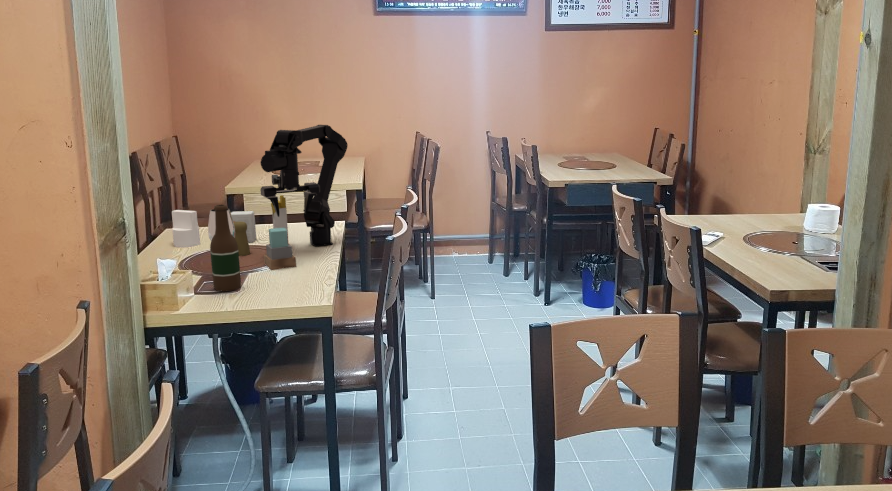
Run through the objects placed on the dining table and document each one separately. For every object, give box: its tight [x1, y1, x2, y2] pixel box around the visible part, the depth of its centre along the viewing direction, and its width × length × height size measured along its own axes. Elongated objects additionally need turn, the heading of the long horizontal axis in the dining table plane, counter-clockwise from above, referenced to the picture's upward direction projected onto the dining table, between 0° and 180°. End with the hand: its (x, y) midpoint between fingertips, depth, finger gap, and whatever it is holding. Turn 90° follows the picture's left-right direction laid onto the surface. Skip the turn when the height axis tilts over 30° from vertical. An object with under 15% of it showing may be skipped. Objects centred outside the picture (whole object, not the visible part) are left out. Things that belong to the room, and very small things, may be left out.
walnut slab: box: [263, 254, 297, 271], centre depth 243 cm, size 8×8×4 cm
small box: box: [230, 210, 257, 243], centre depth 276 cm, size 8×6×10 cm
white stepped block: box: [171, 209, 201, 248], centre depth 272 cm, size 9×9×12 cm
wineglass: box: [207, 208, 235, 242], centre depth 231 cm, size 8×8×20 cm
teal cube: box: [268, 228, 289, 248], centre depth 241 cm, size 5×5×5 cm
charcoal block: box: [265, 243, 293, 260], centre depth 241 cm, size 6×6×4 cm
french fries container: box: [270, 194, 290, 245], centre depth 264 cm, size 5×11×18 cm, turn 16°
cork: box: [234, 221, 251, 257], centre depth 257 cm, size 6×6×11 cm
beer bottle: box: [209, 204, 242, 292], centre depth 217 cm, size 8×8×24 cm
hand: (292, 215), depth 255 cm, fingers open, 9 cm apart
